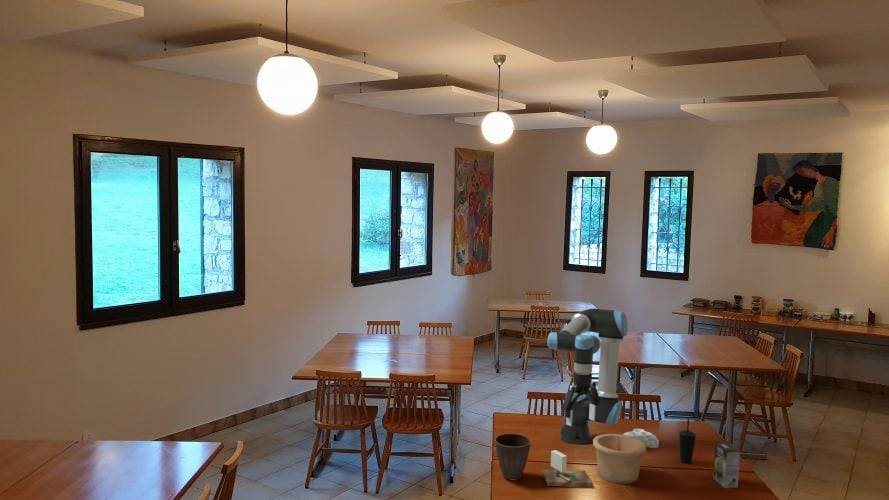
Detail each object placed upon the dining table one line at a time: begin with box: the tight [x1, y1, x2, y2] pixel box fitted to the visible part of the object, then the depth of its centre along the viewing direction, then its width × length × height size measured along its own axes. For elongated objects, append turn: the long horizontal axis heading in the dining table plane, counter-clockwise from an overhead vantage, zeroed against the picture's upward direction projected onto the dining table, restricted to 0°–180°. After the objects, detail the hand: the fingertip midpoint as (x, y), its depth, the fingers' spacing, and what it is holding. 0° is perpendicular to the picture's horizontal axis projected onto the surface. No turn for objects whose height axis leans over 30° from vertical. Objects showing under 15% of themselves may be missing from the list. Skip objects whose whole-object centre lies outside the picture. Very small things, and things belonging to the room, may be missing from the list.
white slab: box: [550, 449, 570, 481], centre depth 269 cm, size 2×11×9 cm, turn 31°
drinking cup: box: [678, 418, 697, 465], centre depth 293 cm, size 8×8×20 cm
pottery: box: [592, 433, 647, 485], centre depth 277 cm, size 22×22×14 cm
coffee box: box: [713, 441, 741, 489], centre depth 272 cm, size 9×6×16 cm
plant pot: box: [494, 433, 532, 481], centre depth 273 cm, size 15×15×16 cm
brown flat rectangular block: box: [542, 469, 592, 489], centre depth 271 cm, size 18×12×2 cm, turn 91°
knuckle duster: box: [622, 428, 660, 449], centre depth 318 cm, size 3×18×15 cm
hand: (580, 422), depth 272 cm, fingers open, 13 cm apart
